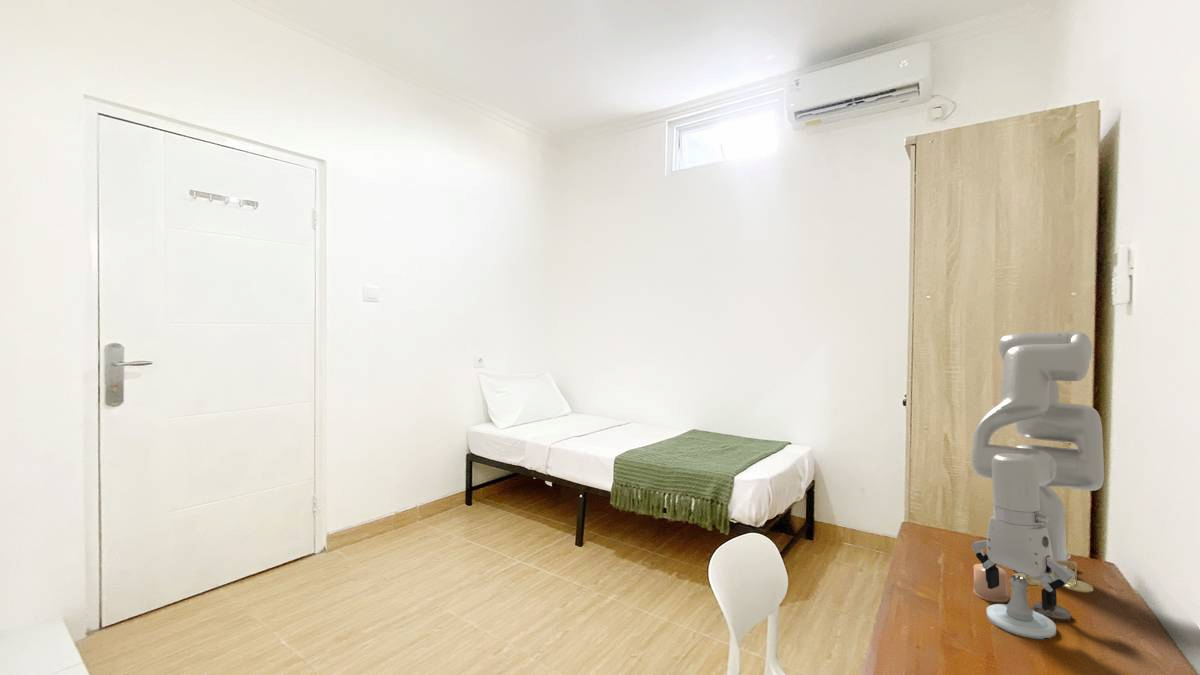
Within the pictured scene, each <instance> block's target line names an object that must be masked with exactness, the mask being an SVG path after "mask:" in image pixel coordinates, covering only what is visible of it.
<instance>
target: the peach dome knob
mask: <svg viewBox="0 0 1200 675" xmlns="http://www.w3.org/2000/svg"><path fill="white" fill-rule="evenodd" d="M996 567H998V569H999V586H998V587H995V588H993V589H990V588H988V585H987V581H986V570H985V568H983V566H982V563H975V564H973V585H974V587H973V590H972V592H973V594H974V595H975V596H977V598H980V599H983V600H985V601H988V602H991V603H996V604H1005V603H1009V601H1010V598H1009V594H1008V585H1007V584H1008V580H1007V576H1008V574H1007V573H1008V572H1007V571H1006V570H1005V569H1004V568H1003V567H1002V568H1001V567H1000V566H998V565H996Z"/></svg>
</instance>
